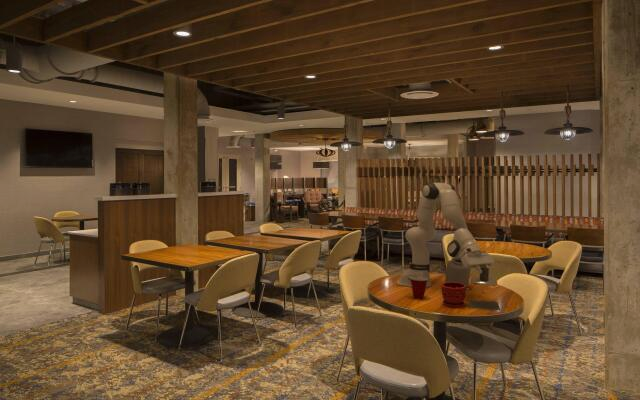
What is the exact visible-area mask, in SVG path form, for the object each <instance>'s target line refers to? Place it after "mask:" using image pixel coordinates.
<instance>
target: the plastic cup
mask: <svg viewBox="0 0 640 400" xmlns="http://www.w3.org/2000/svg"><path fill="white" fill-rule="evenodd" d="M410 280H411V285H412V287H411V290H412V296H413V299H415V300H423V299H424V297H425V292H426V288H427V287H426V284H427V280H428V279H427V278H422V277H410Z"/></svg>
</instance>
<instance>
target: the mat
mask: <svg viewBox="0 0 640 400" xmlns="http://www.w3.org/2000/svg"><path fill="white" fill-rule="evenodd" d="M467 302H468V308H469V309H478V310H479V309H480V310H493V311H502V310H501V308H500V305H499V302H498V301H487V300H486V301H485V300H484V301H483V300H469V299H468V300H467Z"/></svg>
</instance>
